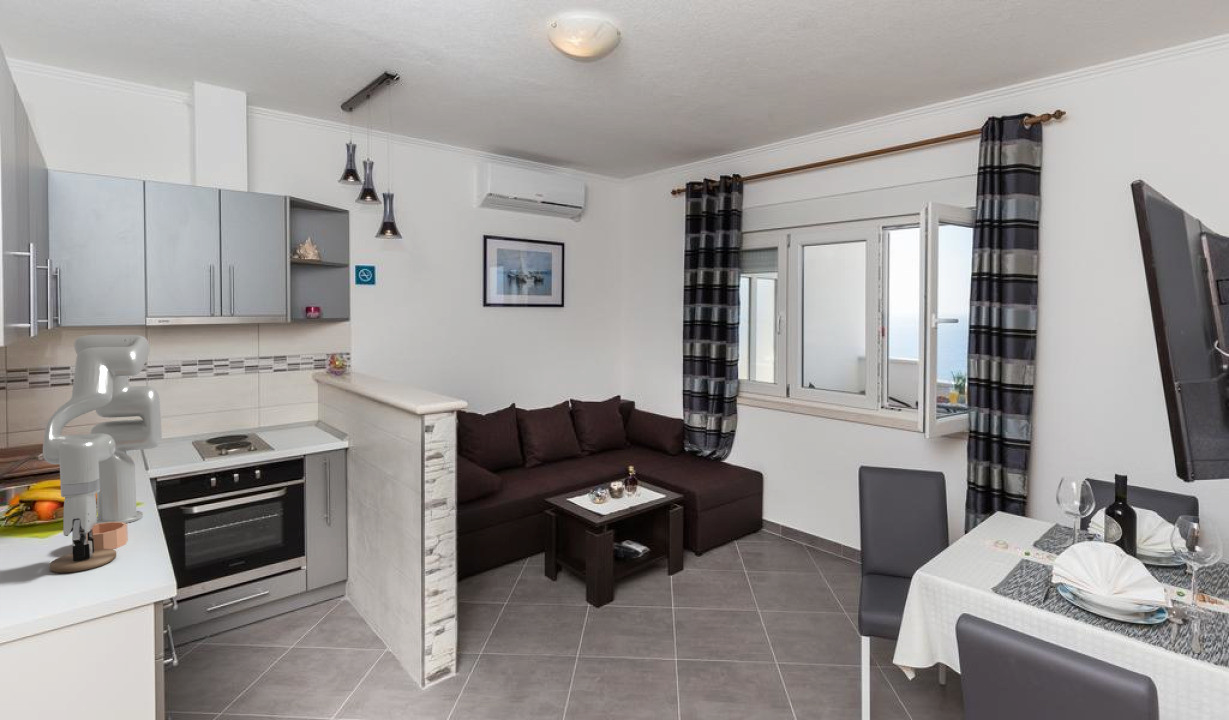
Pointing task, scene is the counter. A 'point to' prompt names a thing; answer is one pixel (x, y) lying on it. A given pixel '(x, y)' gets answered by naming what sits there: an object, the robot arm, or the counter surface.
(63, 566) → the lid
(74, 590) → the counter surface
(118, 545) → the bowl
